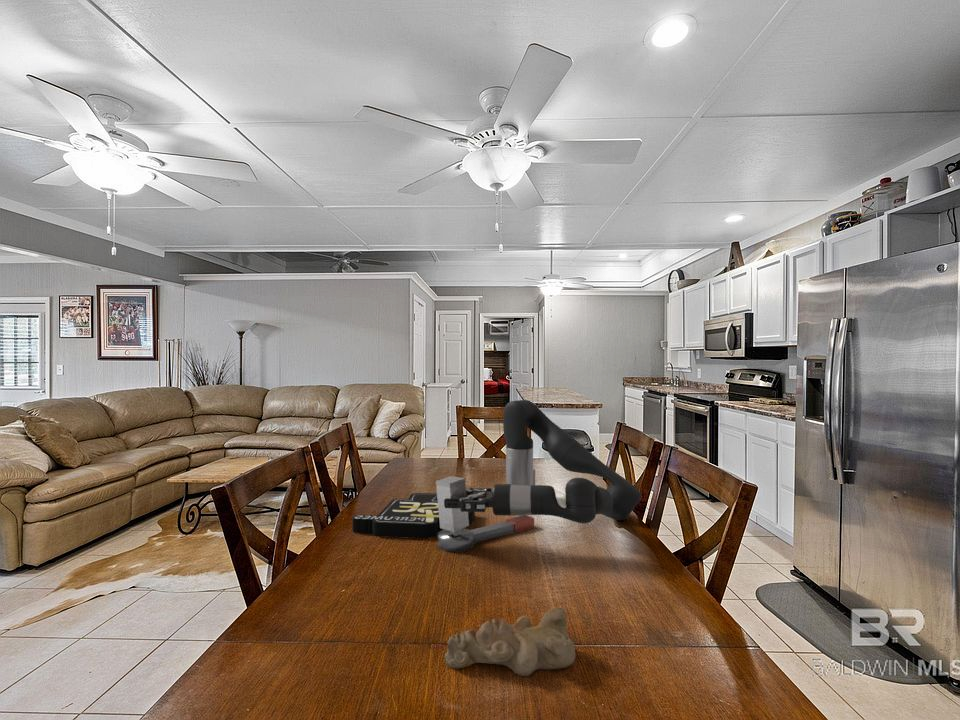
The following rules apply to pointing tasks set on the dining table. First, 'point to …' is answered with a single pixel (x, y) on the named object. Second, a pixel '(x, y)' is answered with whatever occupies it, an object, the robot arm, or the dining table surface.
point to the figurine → (515, 644)
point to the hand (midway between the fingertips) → (448, 499)
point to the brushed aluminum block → (451, 516)
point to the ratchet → (481, 533)
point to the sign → (405, 518)
